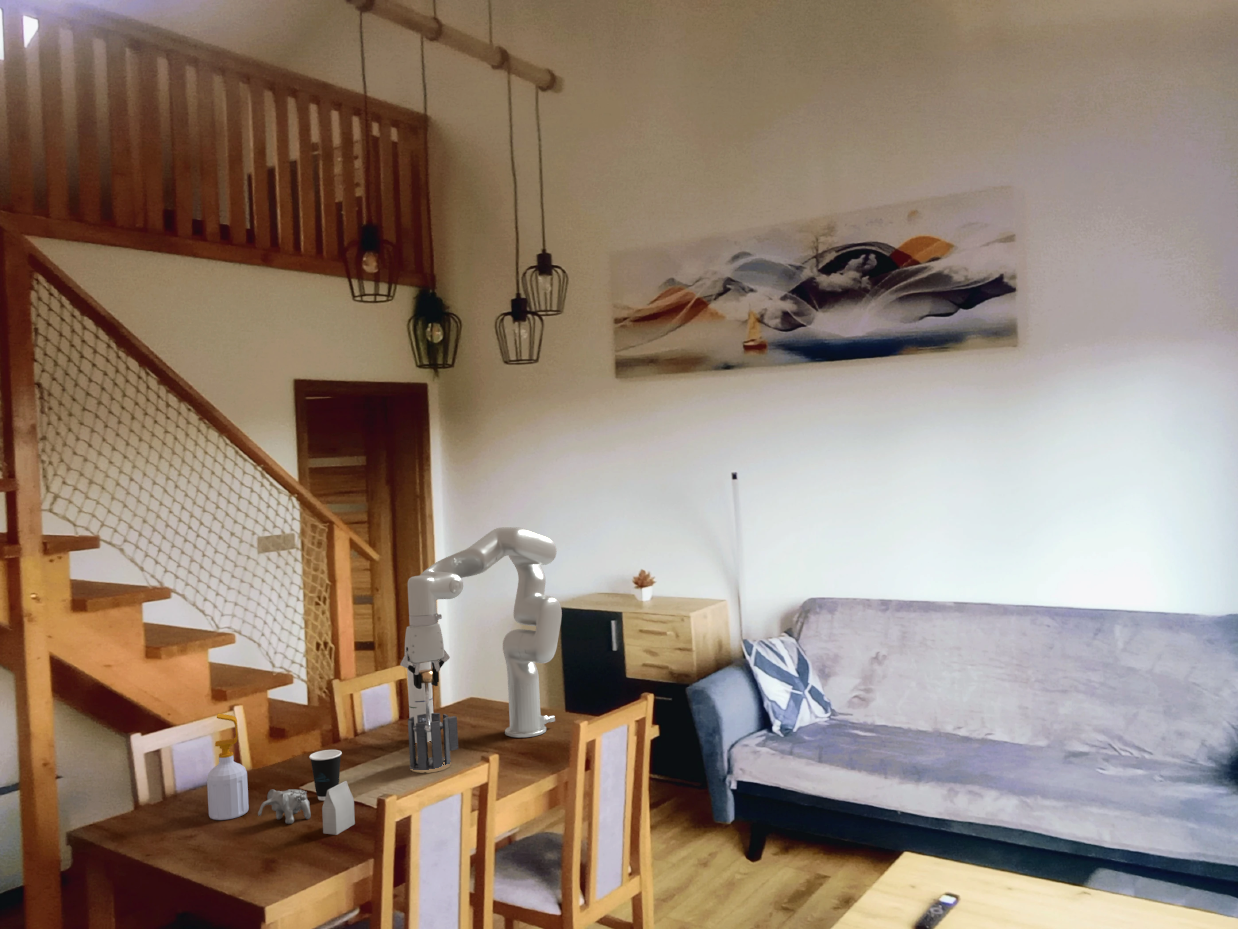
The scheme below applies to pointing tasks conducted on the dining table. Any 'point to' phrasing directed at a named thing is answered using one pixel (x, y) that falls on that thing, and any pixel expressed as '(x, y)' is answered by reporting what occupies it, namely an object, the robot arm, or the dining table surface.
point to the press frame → (432, 741)
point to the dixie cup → (325, 770)
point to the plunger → (427, 697)
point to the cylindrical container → (419, 697)
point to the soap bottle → (227, 782)
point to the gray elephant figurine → (287, 803)
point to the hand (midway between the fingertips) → (426, 686)
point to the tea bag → (338, 809)
